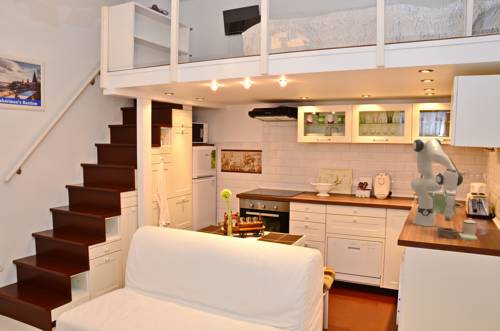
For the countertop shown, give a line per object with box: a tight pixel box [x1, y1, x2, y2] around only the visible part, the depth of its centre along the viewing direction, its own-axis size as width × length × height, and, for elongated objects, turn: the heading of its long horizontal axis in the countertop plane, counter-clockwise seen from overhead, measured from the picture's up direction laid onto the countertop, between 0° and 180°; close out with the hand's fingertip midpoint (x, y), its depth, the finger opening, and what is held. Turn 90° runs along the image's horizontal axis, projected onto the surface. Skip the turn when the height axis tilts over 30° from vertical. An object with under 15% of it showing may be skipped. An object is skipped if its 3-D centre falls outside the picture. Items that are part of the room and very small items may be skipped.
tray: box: [458, 232, 478, 242], centre depth 278 cm, size 12×10×2 cm
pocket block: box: [437, 226, 459, 240], centre depth 282 cm, size 12×12×5 cm
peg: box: [444, 205, 453, 222], centre depth 282 cm, size 4×4×11 cm
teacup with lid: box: [458, 217, 477, 236], centre depth 293 cm, size 12×9×12 cm
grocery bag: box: [427, 189, 457, 216], centre depth 375 cm, size 32×14×23 cm, turn 72°
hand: (448, 210), depth 281 cm, fingers closed on peg, 4 cm apart
